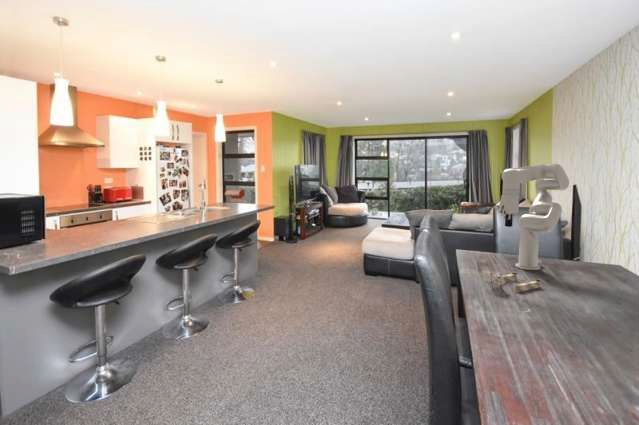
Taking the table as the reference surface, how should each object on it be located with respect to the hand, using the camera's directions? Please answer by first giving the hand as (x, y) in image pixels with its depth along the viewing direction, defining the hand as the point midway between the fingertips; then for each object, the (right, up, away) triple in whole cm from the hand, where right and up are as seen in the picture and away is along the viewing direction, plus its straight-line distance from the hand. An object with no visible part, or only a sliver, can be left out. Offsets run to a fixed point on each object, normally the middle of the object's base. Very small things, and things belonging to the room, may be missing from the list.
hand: (508, 226), depth 185 cm
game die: (-17, -30, -20) cm, 40 cm away
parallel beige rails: (-4, -29, -14) cm, 32 cm away
